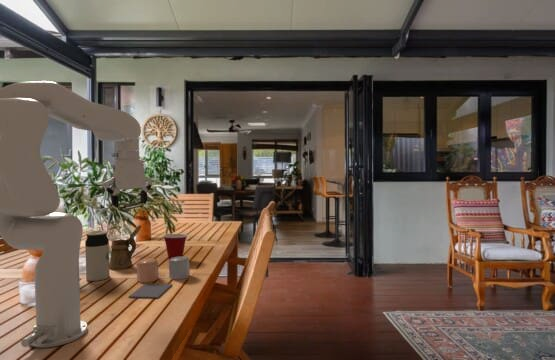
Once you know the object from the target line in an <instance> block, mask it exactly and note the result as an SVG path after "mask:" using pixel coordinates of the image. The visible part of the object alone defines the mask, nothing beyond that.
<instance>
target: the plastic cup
mask: <svg viewBox="0 0 555 360" xmlns="http://www.w3.org/2000/svg"><path fill="white" fill-rule="evenodd" d="M162 236H163V238H164V242H165V247H166V252H167V253H166V254H167V256H168V257H167V258H168V262H169V261H170V259H171V258H173V257H180V256H184V251H185V247H186V245H185V244H186V240H187V237H188V234H184V233H169V234H164V235H162Z"/></svg>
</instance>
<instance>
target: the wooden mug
mask: <svg viewBox="0 0 555 360" xmlns="http://www.w3.org/2000/svg"><path fill="white" fill-rule="evenodd" d="M140 230H141V225H138V226H137V227H136V228H135V229H134V230H133V231H132V233H131V234H130V235H129V238H126V239H117V240H112V242H111V246H110V249H111V251H110V257H109V270H112V271H113V270H114V271H115V270H116V271H117V270H118V269H119V270H125V269H128V268H130V267H132V266H133V260H132V256H133V254H134V253H135V251H136V248H137V242H136V240H135V239H134V238H135V237H136V236H137V234H138V233H139V231H140ZM130 246H131V249H130Z"/></svg>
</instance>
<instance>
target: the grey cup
mask: <svg viewBox="0 0 555 360" xmlns="http://www.w3.org/2000/svg"><path fill="white" fill-rule="evenodd" d="M168 270H169V271H168V272H169V273H168V274H169V275H168V277H169V279H171V280H183V279H187V278H188V277H189V276H190V274H191V272H190V259H189V257H187V256H184V255H183V256H180V257H173V258H171V259H170V261H169V260H168Z"/></svg>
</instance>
